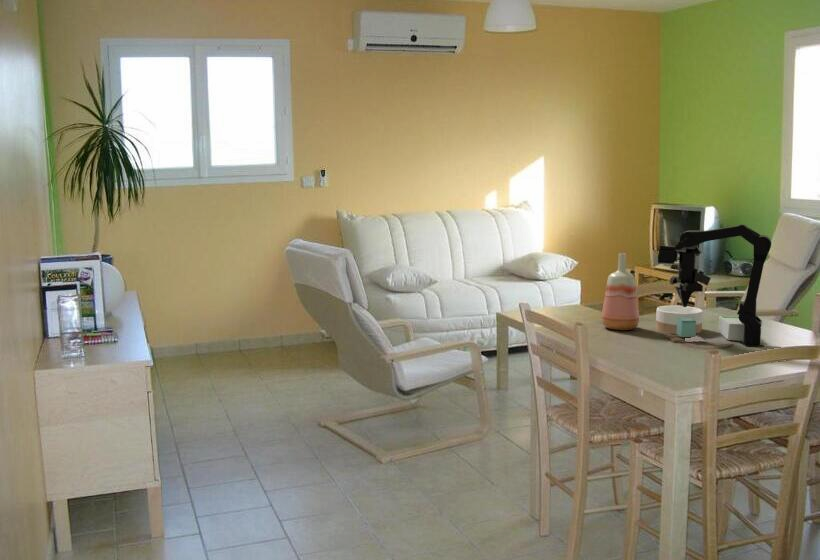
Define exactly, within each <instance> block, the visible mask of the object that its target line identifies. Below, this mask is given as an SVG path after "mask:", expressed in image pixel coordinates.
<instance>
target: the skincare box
mask: <svg viewBox="0 0 820 560" xmlns="http://www.w3.org/2000/svg"><path fill="white" fill-rule="evenodd" d="M744 327H745V326H744V324H743V323H741V322H740V320H739V316H729V315H726V316H724V315H720V316H719V318H718V330H717V331H718V333H719V334H721V335H722V336H723V337H724V338H725V339H726V340H727V339H728V341H737V342H740V341H744Z"/></svg>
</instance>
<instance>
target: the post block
mask: <svg viewBox="0 0 820 560" xmlns="http://www.w3.org/2000/svg"><path fill="white" fill-rule="evenodd" d="M695 336H700V335H699V334H695ZM665 338H666V339H667V340H669V341H671V342H672V343H683V342H682V341H685V338H691V337H680V336H679V335H677V334H666V335H665ZM704 340H706V339H705V338H704Z"/></svg>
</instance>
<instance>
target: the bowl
mask: <svg viewBox="0 0 820 560" xmlns="http://www.w3.org/2000/svg"><path fill="white" fill-rule="evenodd" d="M655 313H656V315H655V330H656V331H657V332H660V333H664V334H667V335H677V318H692V319H694V320H695V321H696V332H695V333H699V334H701V333H702V328H703V314H704V312H703V309H701V308H698V307H694V306H688V305H687V307H683V305H672V304H671V305H661V306H658V307H657V308H656V312H655ZM700 332H701V333H700Z"/></svg>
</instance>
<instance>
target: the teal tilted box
mask: <svg viewBox="0 0 820 560" xmlns="http://www.w3.org/2000/svg"><path fill="white" fill-rule="evenodd" d="M695 332H696V321H695V320H694V319H692V318H677V334H676V335H679V336H680V337H695V335H696V334H695Z"/></svg>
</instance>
